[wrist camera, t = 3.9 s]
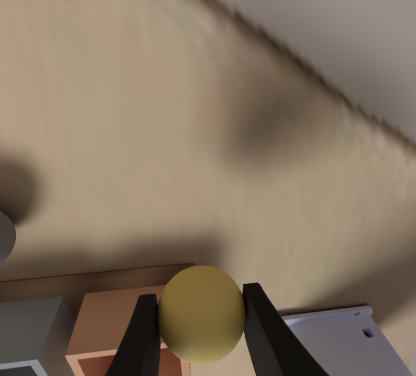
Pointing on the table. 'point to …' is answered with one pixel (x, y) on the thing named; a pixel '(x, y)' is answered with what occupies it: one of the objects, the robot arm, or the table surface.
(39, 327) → the grey open box
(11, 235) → the grey ball
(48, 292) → the board
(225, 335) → the ochre ball
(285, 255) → the table surface
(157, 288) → the orange open box
